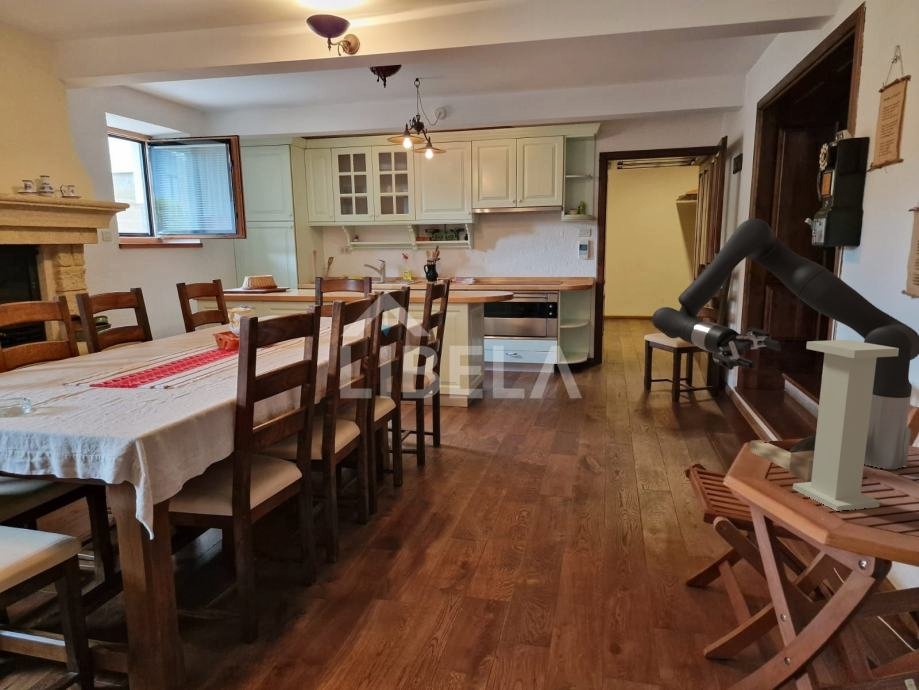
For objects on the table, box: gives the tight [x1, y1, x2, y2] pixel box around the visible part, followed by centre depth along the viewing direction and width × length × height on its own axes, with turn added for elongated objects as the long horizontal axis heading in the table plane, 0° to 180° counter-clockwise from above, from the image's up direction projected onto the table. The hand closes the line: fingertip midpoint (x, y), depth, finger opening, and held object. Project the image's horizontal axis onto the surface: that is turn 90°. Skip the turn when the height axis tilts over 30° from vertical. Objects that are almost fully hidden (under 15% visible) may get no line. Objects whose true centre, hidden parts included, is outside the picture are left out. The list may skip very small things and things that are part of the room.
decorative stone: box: [787, 433, 816, 453], centre depth 140 cm, size 17×6×4 cm, turn 127°
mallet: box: [749, 439, 814, 482], centre depth 132 cm, size 19×6×5 cm, turn 13°
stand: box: [792, 339, 899, 512], centre depth 112 cm, size 11×10×32 cm
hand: (766, 356), depth 134 cm, fingers open, 8 cm apart
